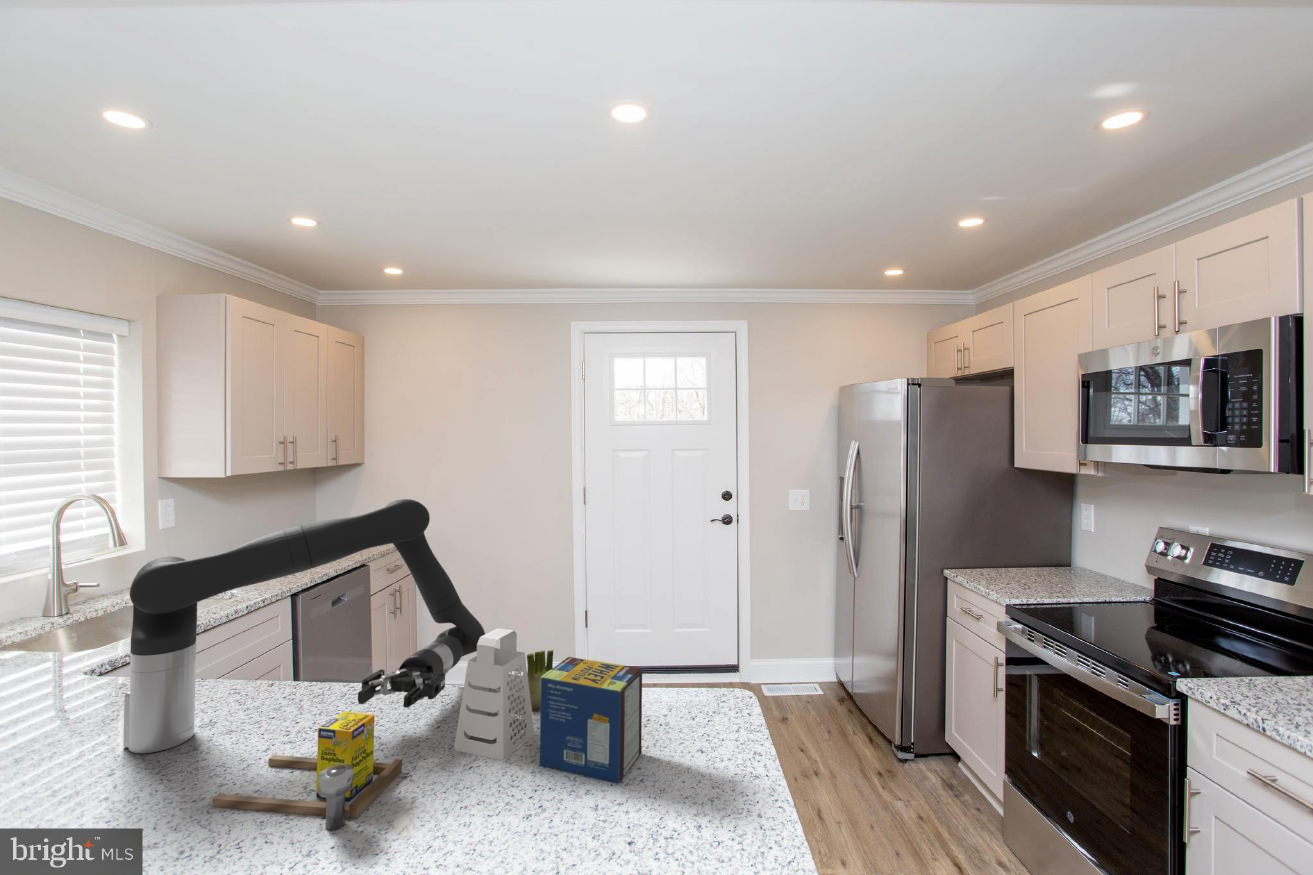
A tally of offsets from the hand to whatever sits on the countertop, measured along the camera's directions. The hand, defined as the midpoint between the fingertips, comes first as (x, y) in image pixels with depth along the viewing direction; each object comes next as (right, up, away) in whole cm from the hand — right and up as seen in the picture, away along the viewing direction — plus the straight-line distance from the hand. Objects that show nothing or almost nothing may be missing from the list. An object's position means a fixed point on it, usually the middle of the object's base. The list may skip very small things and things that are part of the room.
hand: (382, 700), depth 104 cm
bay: (-7, -9, -11) cm, 16 cm away
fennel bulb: (+24, -10, +18) cm, 32 cm away
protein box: (+37, -10, -1) cm, 39 cm away
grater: (+19, -10, +5) cm, 22 cm away
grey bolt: (+2, -9, -20) cm, 22 cm away
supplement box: (-1, -9, -11) cm, 15 cm away
